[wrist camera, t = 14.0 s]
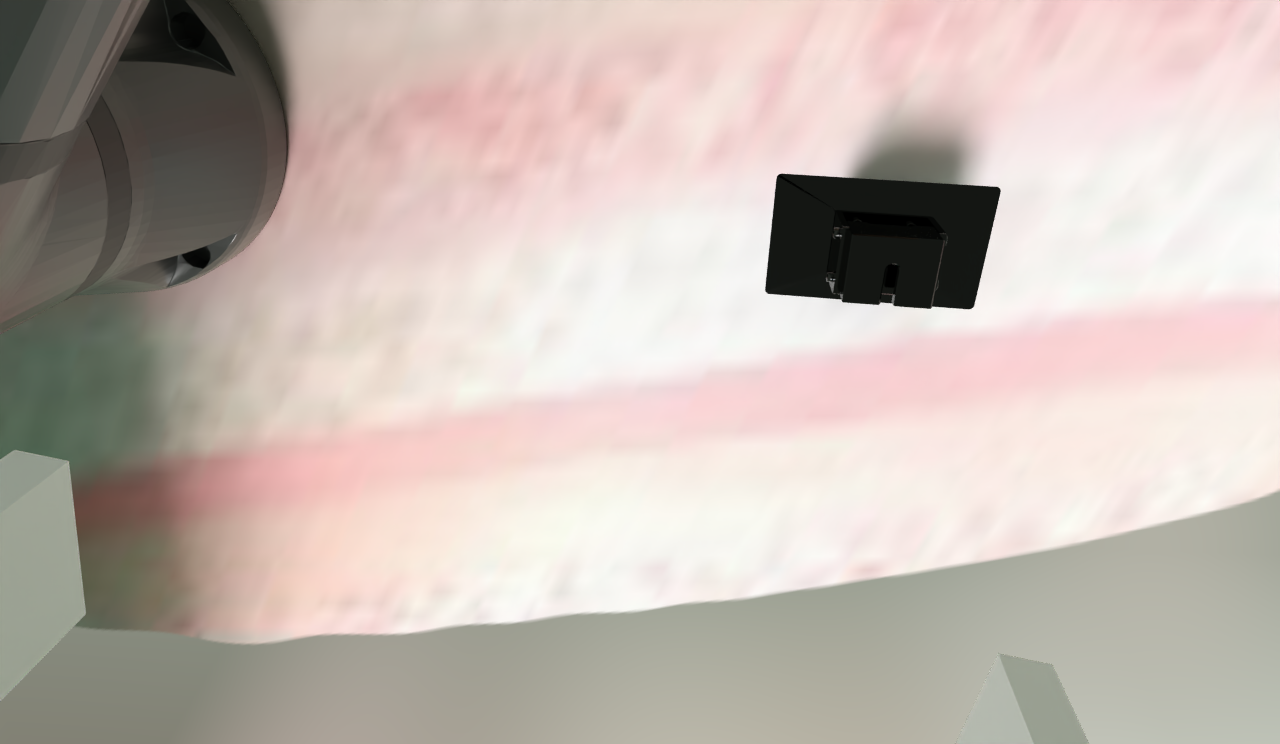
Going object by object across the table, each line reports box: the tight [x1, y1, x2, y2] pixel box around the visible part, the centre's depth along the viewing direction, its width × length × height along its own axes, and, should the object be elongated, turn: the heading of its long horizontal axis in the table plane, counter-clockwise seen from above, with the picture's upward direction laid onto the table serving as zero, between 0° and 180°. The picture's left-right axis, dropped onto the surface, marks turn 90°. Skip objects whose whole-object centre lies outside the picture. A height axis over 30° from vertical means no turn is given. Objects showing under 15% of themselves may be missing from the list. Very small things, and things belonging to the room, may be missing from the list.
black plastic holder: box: [765, 174, 1001, 309], centre depth 37 cm, size 12×7×5 cm, turn 87°
